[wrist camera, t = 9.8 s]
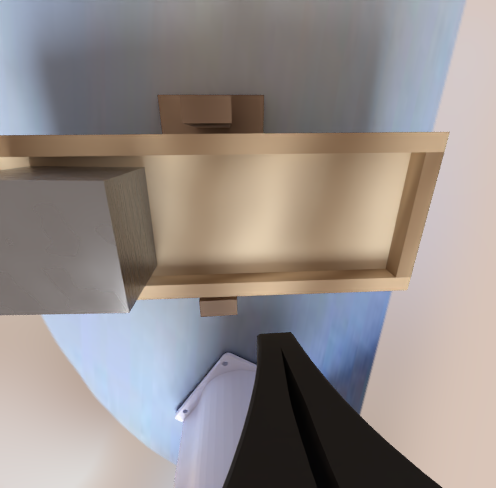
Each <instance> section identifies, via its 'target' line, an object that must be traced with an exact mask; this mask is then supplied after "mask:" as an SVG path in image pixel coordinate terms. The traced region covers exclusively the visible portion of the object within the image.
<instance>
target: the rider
mask: <svg viewBox="0 0 496 488" xmlns="http://www.w3.org/2000/svg"><path fill="white" fill-rule="evenodd" d="M156 267H157V258H156V250H155V243H154V235H153V227H152V220H151V212H150V205H149V197H148V190H147V182H146V175H145V167H75V166H26V167H19V168H12V169H5V170H0V315H36V314H92V313H129V312H130V311H131V309H132V307H133V305H134V304H135V302H136V300H137V299H138V297H139V295H140V294H141V292H142V290H143V289H144V287H145V285H146V284H147V282H148V280H149V279H150V277H151V275H152V274H153V272H154V270H155V269H156Z"/></svg>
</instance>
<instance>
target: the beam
mask: <svg viewBox="0 0 496 488" xmlns="http://www.w3.org/2000/svg"><path fill="white" fill-rule="evenodd" d="M448 136H449V132H384V133H254V134H125V135H0V170H5V169H12V168H19V167H26V166H75V167H145V175H146V182H147V190H148V197H149V205H150V212H151V220H152V227H153V235H154V243H155V250H156V258H157V267H156V269H155V270H154V272H153V274H152V275H151V277H150V279H149V280H148V282H147V284H146V285H145V287H144V289H143V290H142V292H141V294H140V295H139V297H138V299H137V300H145V299H173V298H201V297H230V296H258V295H286V294H314V293H342V292H370V291H398V290H407V289H408V285H409V282H410V278H411V274H412V271H413V267H414V263H415V259H416V255H417V252H418V248H419V244H420V241H421V237H422V233H423V229H424V226H425V222H426V218H427V214H428V211H429V207H430V203H431V200H432V196H433V192H434V188H435V185H436V181H437V177H438V174H439V170H440V165H441V162H442V158H443V155H444V151H445V147H446V144H447V140H448Z"/></svg>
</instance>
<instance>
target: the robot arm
mask: <svg viewBox="0 0 496 488" xmlns="http://www.w3.org/2000/svg"><path fill="white" fill-rule="evenodd" d="M175 418H176V419H177V420H179V421H181V422H183V428H182V434H181V441H180V448H179V454H178V461H177V468H176V474H175V481H174V488H442V487H441V486H440V485H438V484H437V483H436V482H435V481H433V480H432V479H431V478H430V477H428V476H427V475H425V474H424V473H423V472H422V471H421V470H420V469H419V468H417V467H416V466H415V465H414V464H413V463H412V462H410V461H409V460H408V459H407V458H406V457H405V456H403V455H402V454H401V453H400V452H399V451H397V450H396V449H395V448H394V447H393V446H392V445H390V444H389V443H388V442H387V441H386V440H385V439H384V438H383V437H382V436H381V435H380V434H378V433H377V432H376V431H375V430H374V429H373V428H372V427H371V426H370V425H369V424H368V423H367V422H366V421H365V420H364V419H363V418H362V417H361V416H360V415H359V414H358V413H357V412H356V411H355V410H354V409H353V408H352V407H351V406H350V405H349V404H348V403H347V402H346V401H345V400H344V399H343V397H342V396H341V395H340V394H339V393H338V392H337V391H336V390H335V389H334V387H333V386H332V385H331V384H330V383H329V382H328V380H327V379H326V378H325V377H324V376H323V374H322V373H321V372H320V371H319V369H318V368H317V367H316V366H315V364H314V363H313V362H312V361H311V359H310V358H309V357H308V355H307V354H306V353H305V351H304V350H303V348H302V347H301V346H300V344H299V343H298V341H297V340H296V338H295V337H294V335H293V334H292V333H291V332H285V333H268V334H259V335H258V336H257V365H256V364H254V363H251V362H249V361H247V360H245V359H243V358H240V357H238V356H236V355H234V354H232V353H225V354H224V355H223V356H222V357H221V358H220V359H219V361H218V362H217V363H216V364H215V366H214V367H213V368H212V369H211V370H210V372H209V373H208V374H207V375H206V377H205V378H204V379H203V380H202V382H201V383H200V384H199V385H198V386H197V388H196V389H195V390H194V391H193V393H192V394H191V395H190V396H189V397H188V399H187V400H186V401H185V402H184V404H183V405H182V406H181V407H180V408H179V410H178V411H177V412H176V415H175Z"/></svg>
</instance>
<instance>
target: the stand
mask: <svg viewBox="0 0 496 488" xmlns="http://www.w3.org/2000/svg"><path fill="white" fill-rule="evenodd" d="M158 103H159V111H160V119H161V127H162V134H254V133H263V120H264V95H158ZM199 303H200V314H201V317H207V316H225V315H237V296H230V297H201V298H200V301H199Z"/></svg>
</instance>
